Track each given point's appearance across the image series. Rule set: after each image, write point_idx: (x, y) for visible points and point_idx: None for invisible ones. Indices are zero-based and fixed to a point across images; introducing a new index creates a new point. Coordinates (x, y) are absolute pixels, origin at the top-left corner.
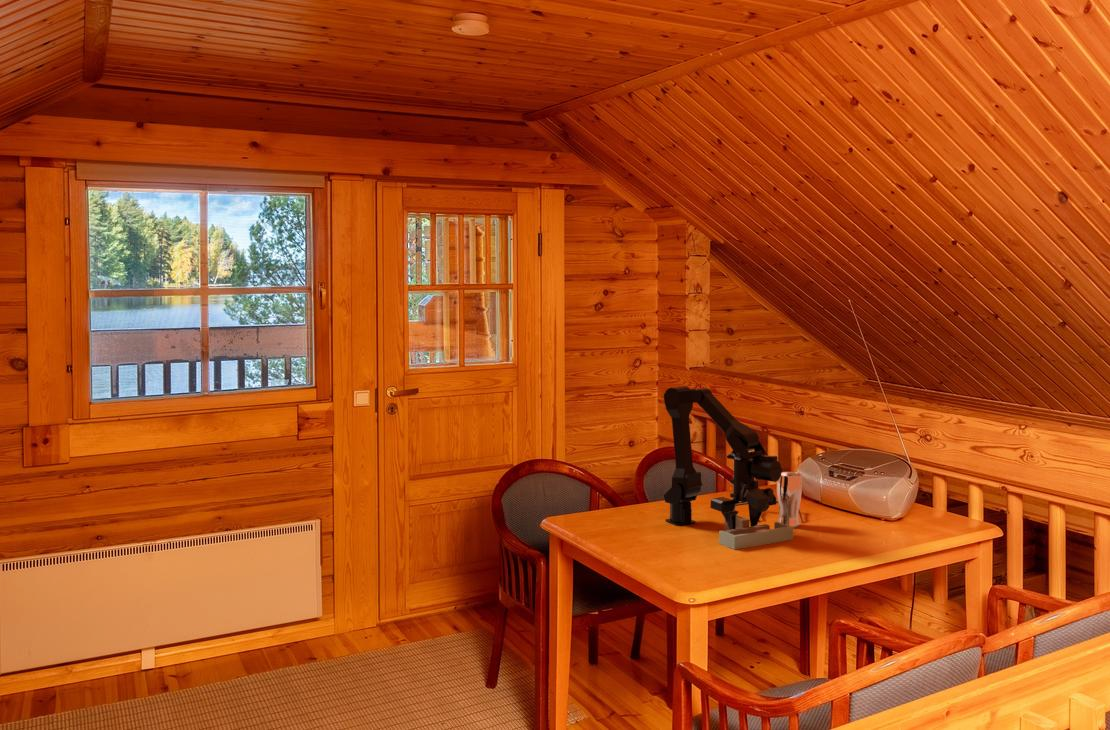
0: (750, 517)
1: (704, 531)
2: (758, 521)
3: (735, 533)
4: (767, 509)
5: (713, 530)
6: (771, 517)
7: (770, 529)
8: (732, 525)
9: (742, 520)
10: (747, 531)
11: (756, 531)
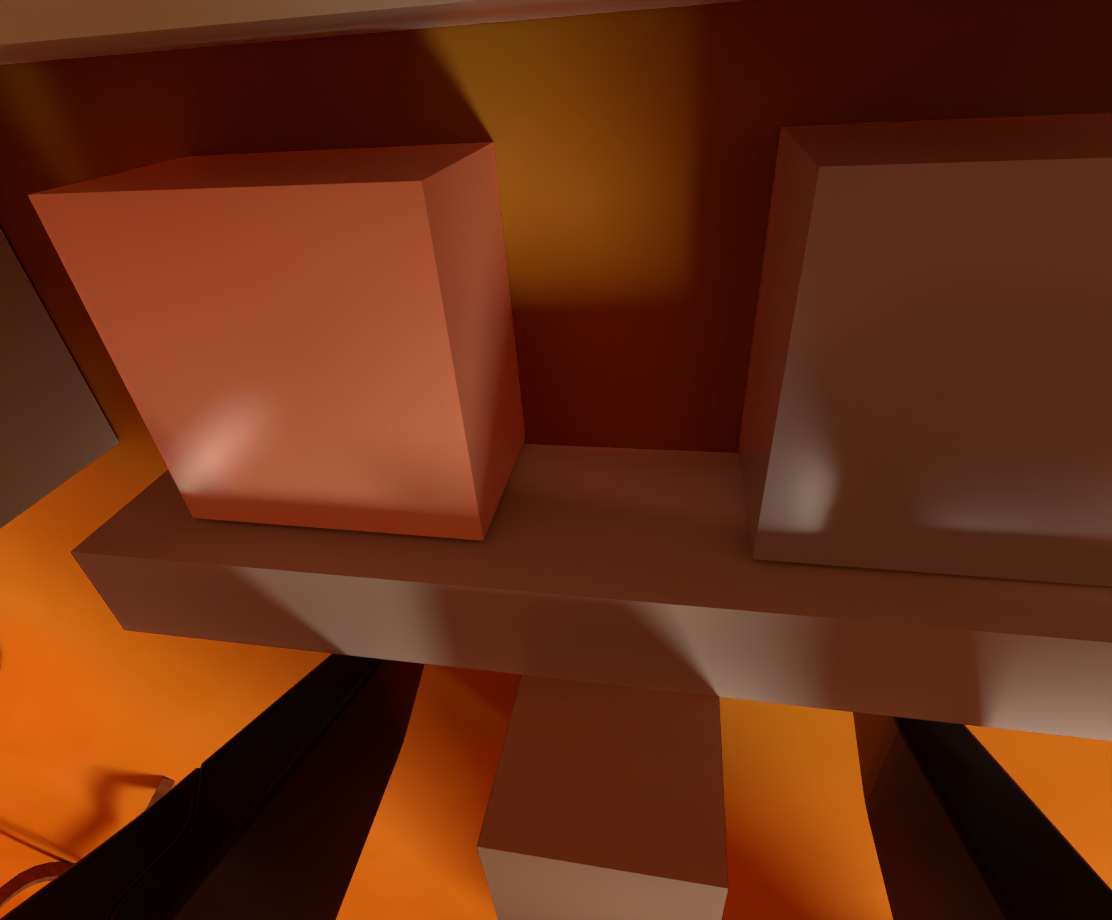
0: (336, 886)
1: (872, 883)
2: (169, 789)
3: (1109, 580)
4: (24, 872)
5: (752, 857)
6: (32, 790)
7: (119, 30)
8: (1068, 844)
9: (709, 895)
10: (682, 557)
11: (477, 476)
